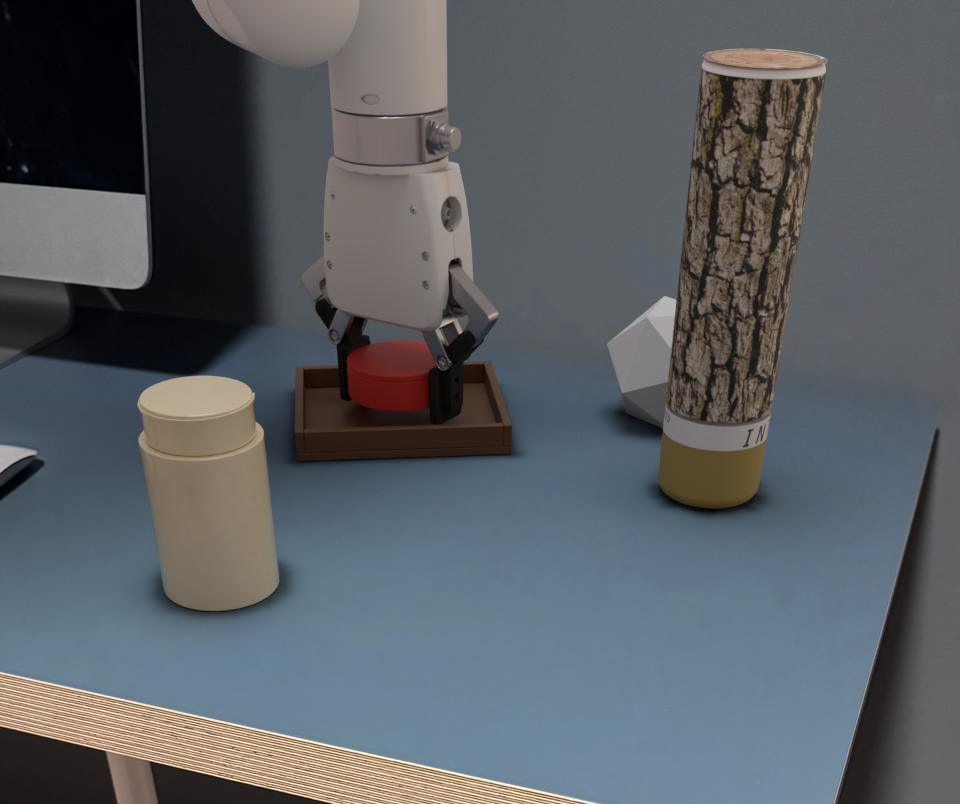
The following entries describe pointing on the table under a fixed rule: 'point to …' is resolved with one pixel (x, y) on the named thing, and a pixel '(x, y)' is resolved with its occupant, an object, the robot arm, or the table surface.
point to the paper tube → (737, 268)
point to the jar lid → (390, 375)
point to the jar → (208, 492)
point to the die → (645, 361)
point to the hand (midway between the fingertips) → (400, 405)
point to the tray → (397, 421)
